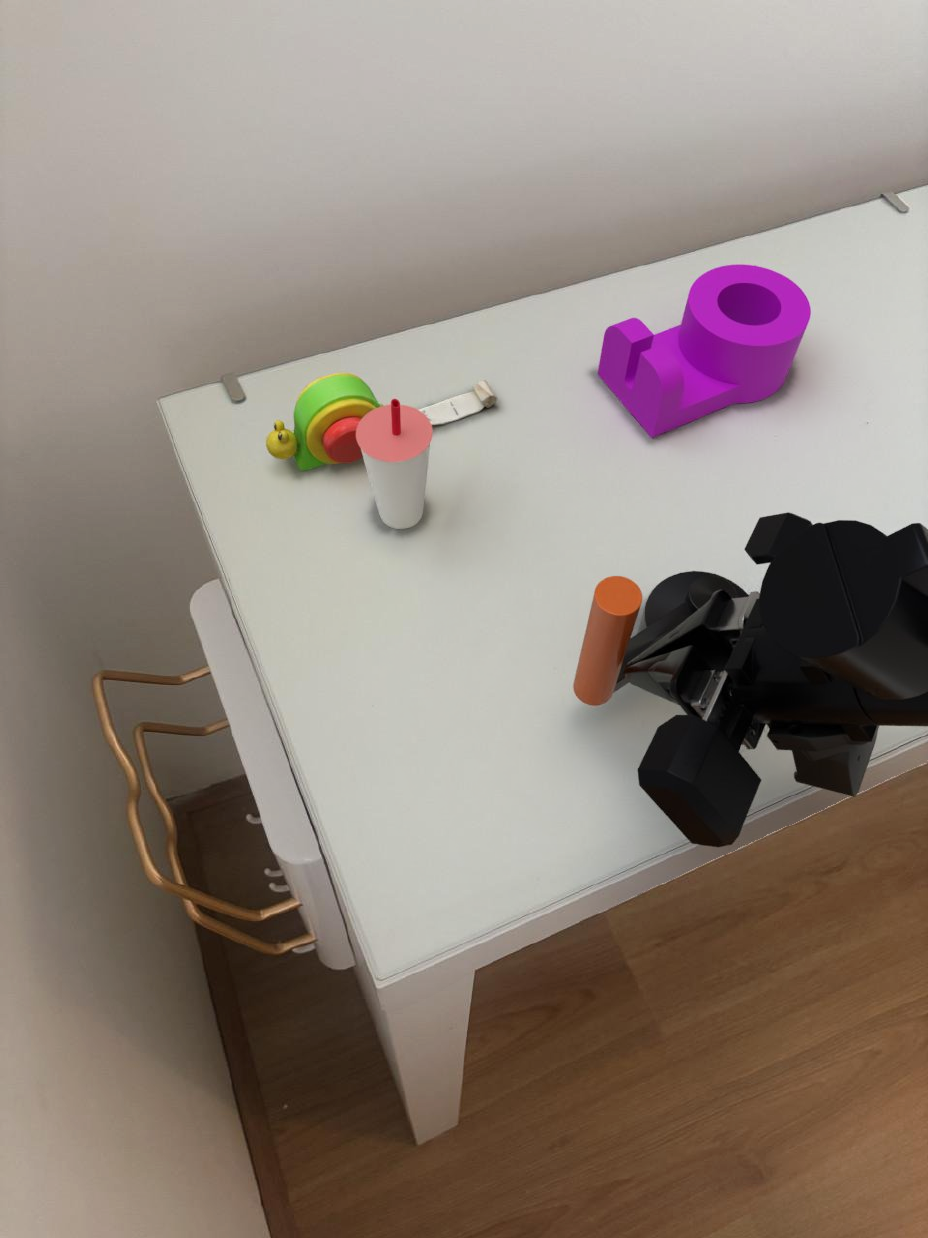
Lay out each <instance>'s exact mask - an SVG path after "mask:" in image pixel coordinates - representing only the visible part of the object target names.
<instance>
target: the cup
mask: <svg viewBox="0 0 928 1238" xmlns="http://www.w3.org/2000/svg"><path fill="white" fill-rule="evenodd" d="M433 434H434V431H433V425H431V423H430V421H429V419H428V418H427V417H426V416H425V415H424V414H423V413H422V412H420V411H419V409H417V408H415V407H412V406H410V405H405V404H401V402H400V401H399V399H397V398H392V399H391V401H390V404H386V405H384V406H382V407H379V408H376V409H374V410H372V411H370V412H369V413H367V414H366V415H365V416H364V417H363V418H362V419H361V420H360V422H359V424H358V426H357V429H356V440H357V443H358V445H359V446H360V448H361V451H362V455H363V457H362V459H363V462H364V466H365V469H366V472H367V476H368V481H369V483H370V487H371V490H372V494H373V498H374V501H375V504H376V508H377V511H378V514H379V517H380V520H381V521H382V522H383V524H384V525H386V526H387V527H389V528H392V529H396V530H405V529H409V528H412V527H414V526H415V525H417V524H419V522H420V521H421V519H422V518H423V515H424V509H425V508H424V507H425V499H426V492H427V491H426V490H427V479H428V469H429V460H430V459H429V458H430V447H431V442H432V439H433V436H434V435H433Z"/></svg>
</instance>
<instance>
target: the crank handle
mask: <svg viewBox="0 0 928 1238" xmlns="http://www.w3.org/2000/svg"><path fill="white" fill-rule="evenodd" d="M718 590H726V591H727V592H728V593H729V595H730V596H731V597H732V599H734V598H737V593H736V590H735V589H734V587H733V586H732V585H731V584H730V583H729V582H728V581H726V580H725V579H723V578H720V577H717V576H703V577H700V578H698V579H696V580H695V581H694V582H693V583H692V584H691V586H690V588H689V591H688V593H687V596H686V598H685V601H684V603H683V604H681V605H680V606H678V607H677V608H675V609H674V610H672V611H671V612H669V613H668V614H666V615H665V616H663V617H662V618H660V619H659V620H657V621H656V622H654V623H653V624H651V625H650V626H648V627H647V628H645V629H644V630H642V631H641V632H639V633H638V632H637V633H635V635H633V631H634V628H635V626H636V622H637V620H638V616H639V612H640V609H641V606H642V604H643V593H642V590H641V588H640V586H638V584H637V583H636V582H635V581H633V580H632V579H630V578H628V577H625V576H621V575H611V576H608V577H605V578H604V579H601V580H600V581H599V582H598V583H597V585H596V587H595V588H594V592H593V597H592V600H591V604H590V605H591V606H590V610H589V614H588V618H587V623H586V627H585V631H584V636H583V640H582V645H581V649H580V652H579V653H580V654H579V657H578V662H577V667H576V671H575V674H574V675H575V676H574V680H573V685H572V689H573V692H574V695H575V696H576V698H577V699H578V700H579V701H580V702H582V703H583V704H584V705H587V706H591V707H598V706H602V705H604V704H606V703H608V702H609V701H610V700H611V699H612V697H613V696H614V694H615V693H616V692H618V691H619V690H621V689H622V688H623V687H625V686H627V685H628V684H630V682H629V681H628V680H627V679H626V678H625V677H624V675H623V671H624V669H625V667H626V665H627V663H628V662H630V661H631V660H633V659H634V658H635V657H637V656H638V655H640V654H641V653H642V652H644V651H645V650H646V649H648V648H649V647H651V646H652V645H653V644H655V643H656V642H658V641H659V640H660V639H662V638H663V637H664V636H666V635H667V634H668V633H670V632H671V631H672V630H674V629H675V628H676V627H678V626H679V625H680V624H681V623H682V622H684V621H685V620H686V619H687V618H689V617H690V616H691V615H692V614H694V613H695V612H696V611H697V610H698V609H700V608H701V607H702V606H703V605H705V604H706V603H707V602H708V601H709V600H710V599H711V597H712V595H713V593H714V592H716V591H718ZM632 635H633V636H632Z"/></svg>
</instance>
